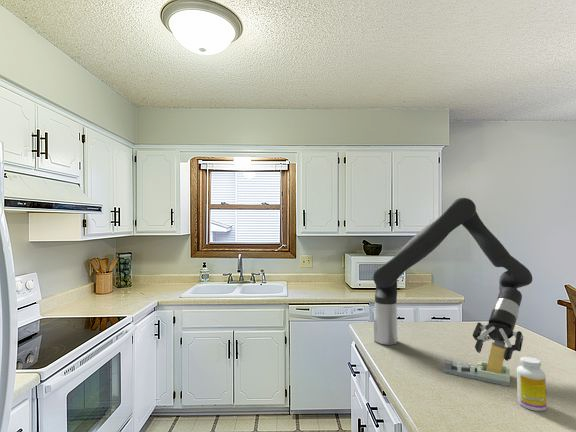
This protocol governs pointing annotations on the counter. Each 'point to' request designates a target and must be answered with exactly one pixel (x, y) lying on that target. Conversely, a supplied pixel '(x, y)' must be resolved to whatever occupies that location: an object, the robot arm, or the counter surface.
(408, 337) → the counter surface
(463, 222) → the robot arm
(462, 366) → the board
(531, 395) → the supplement bottle
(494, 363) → the block
